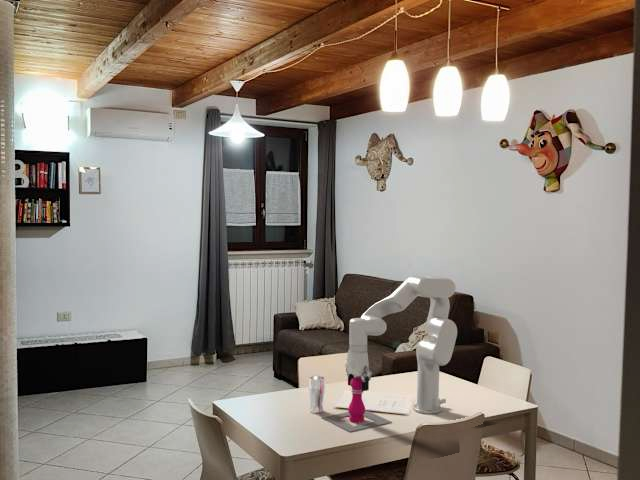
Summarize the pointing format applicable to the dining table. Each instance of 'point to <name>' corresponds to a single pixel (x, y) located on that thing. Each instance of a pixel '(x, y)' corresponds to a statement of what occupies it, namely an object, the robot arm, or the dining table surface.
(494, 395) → the dining table surface
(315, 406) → the beer glass
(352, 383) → the pepper mill
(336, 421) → the letter o mat
